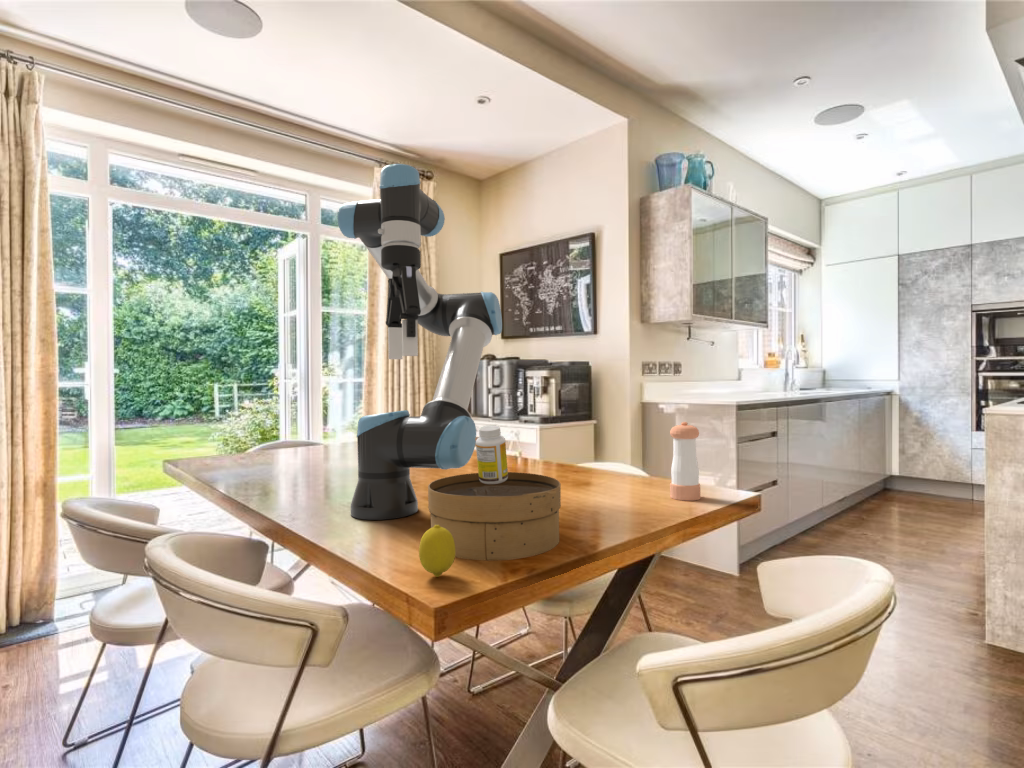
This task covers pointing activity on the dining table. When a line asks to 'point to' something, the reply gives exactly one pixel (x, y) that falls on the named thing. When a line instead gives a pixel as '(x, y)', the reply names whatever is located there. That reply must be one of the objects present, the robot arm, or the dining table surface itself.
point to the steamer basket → (497, 515)
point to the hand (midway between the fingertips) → (402, 357)
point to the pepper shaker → (684, 463)
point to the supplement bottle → (491, 455)
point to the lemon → (437, 550)
